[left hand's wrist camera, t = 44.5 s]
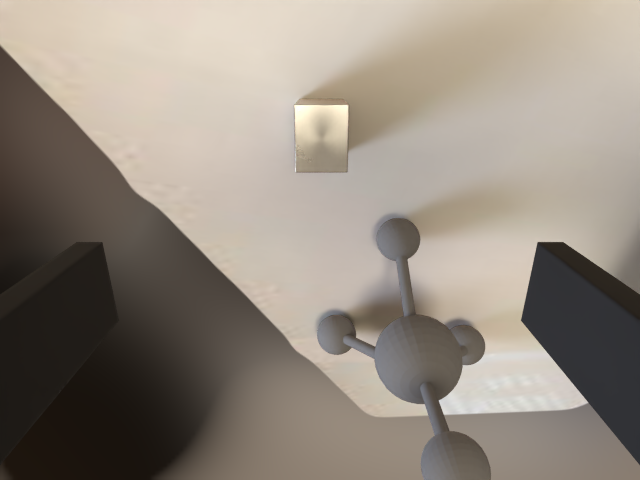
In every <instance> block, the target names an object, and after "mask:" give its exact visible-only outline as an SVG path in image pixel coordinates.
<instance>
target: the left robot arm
mask: <svg viewBox="0 0 640 480" xmlns="http://www.w3.org/2000/svg"><path fill="white" fill-rule="evenodd" d="M118 321H119V319H118V314H117V310H116V305H115V300H114V295H113V290H112V286H111V281H110V276H109V272H108V267H107V262H106V258H105V253H104V248H103V243H102V242H76V243H75V244H73V245H72V246H71V247H69V248H68V249H66V250H65V251H63V252H62V253H60V254H59V255H57V256H56V257H54V258H53V259H52V260H50V261H49V262H47V263H46V264H44V265H43V266H41V267H40V268H38V269H37V270H35V271H34V272H33V273H31V274H30V275H28V276H27V277H25V278H24V279H22V280H21V281H19V282H18V283H17V284H15V285H14V286H12V287H11V288H9V289H8V290H6V291H5V292H3V293H2V294H0V464H1V463H2V462H3V461H4V460H5V458H6V457H7V456H8V455H9V454H10V452H11V451H12V450H13V449H14V447H15V446H16V445H17V444H18V443H19V441H20V440H21V439H22V438H23V436H24V435H25V434H26V433H27V432H28V430H29V429H30V428H31V427H32V426H33V424H34V423H35V422H36V421H37V419H38V418H39V417H40V416H41V415H42V413H43V412H44V411H45V410H46V409H47V407H48V406H49V405H50V404H51V402H52V401H53V400H54V399H55V398H56V396H57V395H58V394H59V393H60V392H61V390H62V389H63V388H64V387H65V385H66V384H67V383H68V382H69V380H70V379H71V378H72V377H73V376H74V374H75V373H76V372H77V371H78V370H79V368H80V367H81V366H82V365H83V364H84V362H85V361H86V360H87V359H88V357H89V356H90V355H91V354H92V353H93V351H94V350H95V349H96V348H97V347H98V345H99V344H100V343H101V342H102V340H103V339H104V338H105V337H106V336H107V334H108V333H109V332H110V331H111V329H112V328H113V327H114V326H115V325H116V323H117V322H118ZM521 321H522V322H523V323H524V325H525V326H526V327H527V328H528V329H529V331H530V332H531V333H532V334H533V336H534V337H535V338H536V339H537V340H538V342H539V343H540V344H541V345H542V347H543V348H544V349H545V350H546V351H547V353H548V354H549V355H550V356H551V357H552V359H553V360H554V361H555V362H556V364H557V365H558V366H559V367H560V368H561V370H562V371H563V372H564V373H565V374H566V376H567V377H568V378H569V379H570V381H571V382H572V383H573V384H574V385H575V387H576V388H577V389H578V390H579V392H580V393H581V394H582V395H583V396H584V398H585V399H586V400H587V401H588V402H589V404H590V405H591V406H592V407H593V409H594V410H595V411H596V412H597V413H598V415H599V416H600V417H601V418H602V419H603V421H604V422H605V423H606V424H607V426H608V427H609V428H610V429H611V430H612V432H613V433H614V434H615V435H616V437H617V438H618V439H619V440H620V441H621V443H622V444H623V445H624V446H625V447H626V449H627V450H628V451H629V452H630V454H631V455H632V456H633V457H634V458H635V460H636V461H637V462H638V463H639V464H640V294H638V293H637V292H635V291H634V290H632V289H631V288H629V287H628V286H626V285H625V284H624V283H622V282H621V281H619V280H618V279H616V278H615V277H613V276H612V275H610V274H609V273H607V272H606V271H605V270H603V269H602V268H600V267H599V266H597V265H596V264H594V263H593V262H591V261H590V260H588V259H587V258H586V257H584V256H583V255H581V254H580V253H578V252H577V251H575V250H574V249H572V248H571V247H569V246H568V245H567V244H565V243H564V242H538V243H537V248H536V253H535V257H534V262H533V267H532V272H531V276H530V281H529V286H528V290H527V295H526V300H525V305H524V309H523V314H522V319H521Z"/></svg>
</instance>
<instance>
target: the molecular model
mask: <svg viewBox="0 0 640 480" xmlns="http://www.w3.org/2000/svg"><path fill="white" fill-rule="evenodd" d="M419 244H420V235H419V232H418V229H417V228H416V226H415V225H414V224H413V223H411V222H410V221H408V220H406V219H402V218H395V219H391V220H389V221H387V222H385V223H384V224H383V225H382V226H381V227H380V229H379V231H378V234H377V245H378V248H379V250H380V252H381V253H382V254H383V255H384V256H385V257H387V258H388V259H391V260H394V261H396V263H397V270H398V277H399V284H400V292H401V299H402V306H403V314H404V317H400V318H398V319H396V320H394V321H393V322H391V323H390V324H389V325H388V326H387V327H386V328H385V329H384V330H383V331H382V333H381V335H380V336H379V338H378V341H377V344H376V347H374V346H372V345H370V344H368V343H366V342H364V341H362V340H359V339H357V338H356V331H355V328H354V325H353V324H352V322H351V321H350V320H349V319H347V318H346V317H344V316H341V315H332V316H329V317H327V318H325V319H324V320H323V321H322V322H321V324H320V325H319V327H318V332H317V337H318V342H319V344H320V346H321V347H322V348H323V349H324V350H325V351H326V352H328V353H330V354H334V355H339V354H343V353H346V352H347V351H349V350H350V349H351V348H354V349H356V350H358V351H360V352H362V353H364V354H366V355H368V356H370V357H372V358H374V359H375V366H376V369H377V372H378V375H379V377H380V379H381V381H382V382H383V384H384V385H385V386H386V388H387V389H388V390H389V391H390V392H391V393H393V394H394V395H395V396H397V397H398V398H400V399H402V400H404V401H407V402H411V403H416V404H425V406H426V409H427V412H428V415H429V418H430V422H431V424H432V428H433V431H434V434H435V436H434V437H432V438H431V439H430V440H429V441H428V443H427V444H426V445H425V448H424V450H423V453H422V457H421V470H422V475H423V478H424V480H491V470H490V465H489V462H488V459H487V456H486V455H485V453H484V451H483V450H482V448H481V447H480V446H479V444H478V443H477V442H476V441H474V440H473V439H472V438H470V437H469V436H467V435H465V434H462V433H459V432H455V431H449V428H448V425H447V423H446V420H445V417H444V414H443V412H442V409H441V406H440V404H439V401H438V400H440V399H442V398H444V397H445V396H447V395H448V394H449V393H450V392H451V391H452V390H453V389H454V387H455V386H456V384H457V383H458V380H459V378H460V375H461V372H462V365H471V364H474V363H476V362H478V361H479V360H480V359H481V358H482V356H483V355H484V352H485V342H484V339H483V337H482V335H481V334H480V333H479V332H478V331H477V330H476V329H474V328H473V327H470V326H466V325H460V326H456V327H454V328H452V329H451V330H449V329H448V328H447V327H446V326H445V325H444V324H442V323H441V322H439V321H438V320H436V319H434V318H431V317H428V316H423V315H416V314H415V307H414V301H413V294H412V288H411V281H410V274H409V268H408V261H407V259H408V258H410V257H411V256H413V255H414V254H415V253H416V251H417V250H418V248H419Z"/></svg>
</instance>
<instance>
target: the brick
mask: <svg viewBox="0 0 640 480" xmlns="http://www.w3.org/2000/svg"><path fill="white" fill-rule="evenodd" d="M294 127H295V172H348V132H349V104H348V103H347V102H346V101H345V100H343V99H299V100H298V101H297V102H296V103H295V105H294Z"/></svg>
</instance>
